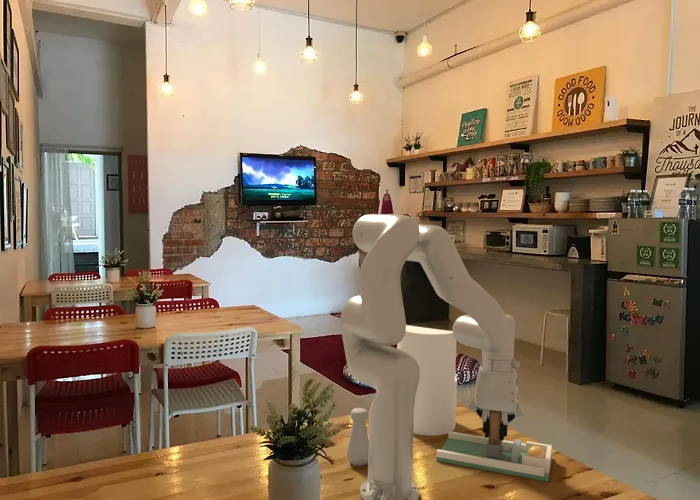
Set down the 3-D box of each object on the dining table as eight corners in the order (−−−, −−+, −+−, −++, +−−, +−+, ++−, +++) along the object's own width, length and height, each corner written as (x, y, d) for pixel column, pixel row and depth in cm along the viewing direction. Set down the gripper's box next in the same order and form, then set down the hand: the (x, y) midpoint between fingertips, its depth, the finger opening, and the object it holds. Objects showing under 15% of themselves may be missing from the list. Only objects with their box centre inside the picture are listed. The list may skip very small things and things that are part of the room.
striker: (517, 463, 135) (519, 418, 134) (486, 457, 138) (487, 413, 137) (520, 453, 141) (522, 410, 140) (489, 448, 144) (491, 406, 143)
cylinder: (441, 440, 152) (444, 337, 150) (384, 426, 161) (387, 329, 159) (464, 421, 166) (467, 326, 165) (411, 409, 175) (413, 320, 174)
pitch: (548, 481, 129) (548, 464, 129) (436, 460, 139) (436, 444, 139) (551, 457, 142) (552, 442, 141) (449, 440, 152) (449, 425, 151)
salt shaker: (368, 468, 134) (369, 414, 133) (344, 466, 135) (345, 412, 134) (372, 458, 139) (373, 406, 139) (349, 456, 140) (350, 404, 140)
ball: (529, 446, 135) (524, 461, 136) (546, 453, 133) (541, 468, 134) (531, 440, 139) (526, 455, 139) (547, 447, 137) (542, 462, 138)
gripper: (533, 364, 139) (530, 437, 140) (466, 357, 145) (464, 427, 147) (531, 372, 132) (527, 448, 133) (461, 363, 138) (458, 437, 140)
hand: (494, 436), depth 140 cm, fingers closed on striker, 3 cm apart
